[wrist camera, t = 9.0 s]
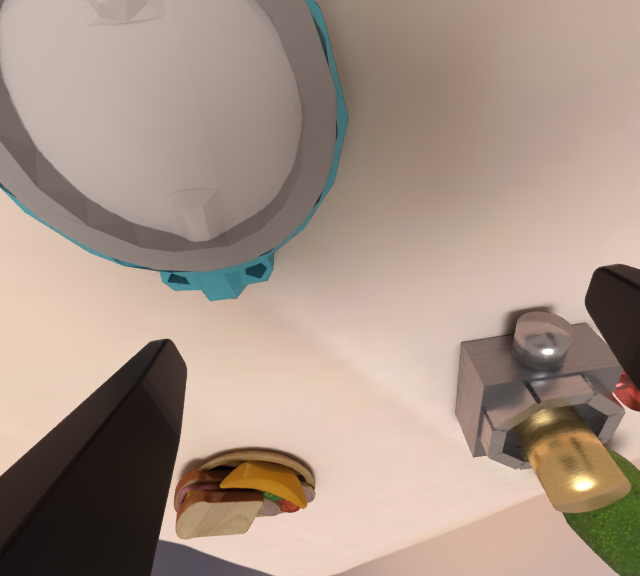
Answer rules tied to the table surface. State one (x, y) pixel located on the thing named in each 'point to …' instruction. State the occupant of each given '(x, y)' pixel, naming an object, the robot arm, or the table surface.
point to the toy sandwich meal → (239, 492)
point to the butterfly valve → (171, 129)
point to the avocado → (614, 525)
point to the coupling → (570, 461)
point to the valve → (537, 384)
